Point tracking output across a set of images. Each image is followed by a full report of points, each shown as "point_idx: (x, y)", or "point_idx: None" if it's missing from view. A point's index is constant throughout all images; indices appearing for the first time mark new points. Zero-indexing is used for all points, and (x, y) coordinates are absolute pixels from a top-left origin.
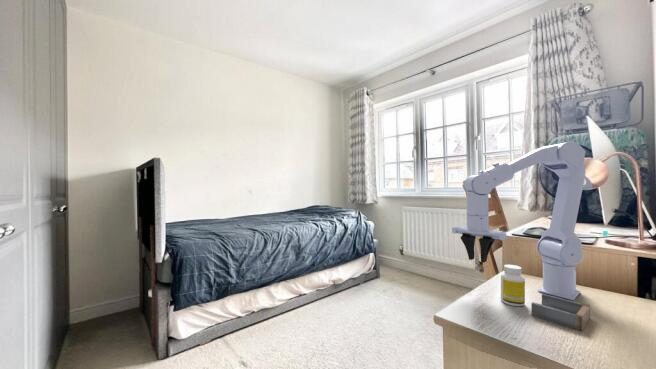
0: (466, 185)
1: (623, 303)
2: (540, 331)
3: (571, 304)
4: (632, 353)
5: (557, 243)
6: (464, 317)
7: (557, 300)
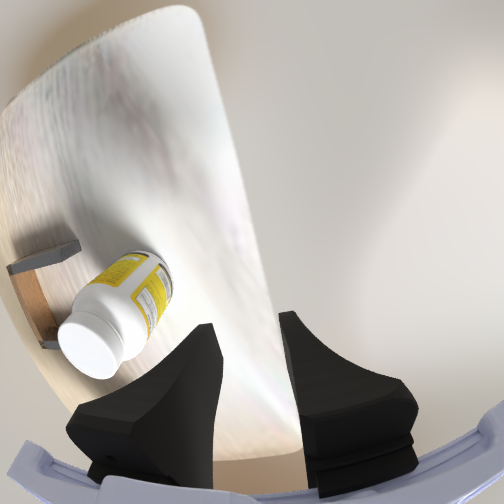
0: None
1: None
2: (37, 175)
3: (57, 338)
4: None
5: None
6: (146, 49)
7: None
